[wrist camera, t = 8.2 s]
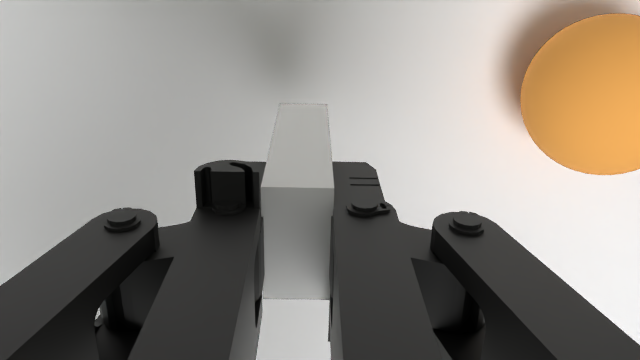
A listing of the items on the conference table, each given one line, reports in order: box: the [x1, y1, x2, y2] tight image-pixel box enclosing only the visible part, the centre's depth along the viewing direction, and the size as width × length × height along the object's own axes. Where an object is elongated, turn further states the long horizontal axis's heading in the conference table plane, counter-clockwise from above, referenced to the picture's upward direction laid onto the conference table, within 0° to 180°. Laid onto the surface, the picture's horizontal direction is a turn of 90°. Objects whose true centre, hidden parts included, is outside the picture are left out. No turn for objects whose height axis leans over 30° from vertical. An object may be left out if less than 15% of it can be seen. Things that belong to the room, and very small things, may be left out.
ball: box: [520, 14, 640, 175], centre depth 20 cm, size 6×6×6 cm
